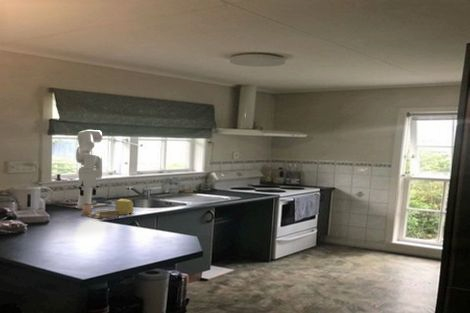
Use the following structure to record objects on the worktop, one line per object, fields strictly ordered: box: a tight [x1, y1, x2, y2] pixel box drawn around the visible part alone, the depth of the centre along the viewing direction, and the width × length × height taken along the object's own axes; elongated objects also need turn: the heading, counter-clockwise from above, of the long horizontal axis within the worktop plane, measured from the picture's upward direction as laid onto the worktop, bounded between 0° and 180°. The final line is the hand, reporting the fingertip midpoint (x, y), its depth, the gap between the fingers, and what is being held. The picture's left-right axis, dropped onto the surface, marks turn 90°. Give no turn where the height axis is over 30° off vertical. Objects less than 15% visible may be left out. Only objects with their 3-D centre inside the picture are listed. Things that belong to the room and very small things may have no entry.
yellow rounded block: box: [115, 198, 134, 215], centre depth 335 cm, size 10×11×10 cm
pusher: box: [95, 208, 111, 215], centre depth 318 cm, size 1×11×4 cm, turn 141°
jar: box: [82, 202, 93, 216], centre depth 321 cm, size 6×6×8 cm
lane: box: [87, 209, 120, 220], centre depth 318 cm, size 16×15×5 cm
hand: (87, 195), depth 320 cm, fingers open, 9 cm apart
